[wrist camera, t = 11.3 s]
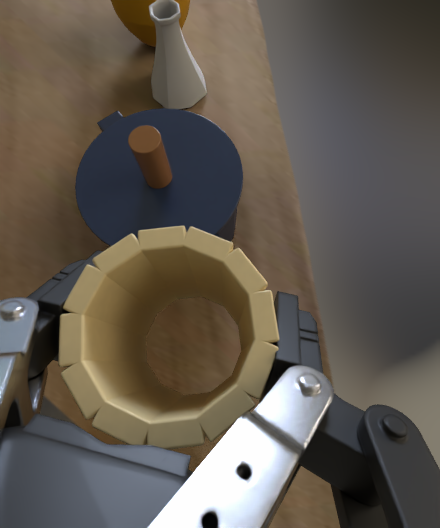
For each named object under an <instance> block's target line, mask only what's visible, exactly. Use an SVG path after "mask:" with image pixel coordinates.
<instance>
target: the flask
mask: <svg viewBox="0 0 440 528" xmlns="http://www.w3.org/2000/svg"><path fill="white" fill-rule="evenodd" d="M149 11H150V18H151V20H152V21H154V23H155V27H156V41H157V42H156V50H155V59H154V65H153V71H152V78H151V84H152V92H153V98H154V99H155V100H156V101H157V102H159V103H160V104H161V105H162V106H164V107H165V108H166V109H183V108H189V107H192V106H193V105H194V104H195V103H197V102H198V101H199V100H200V99H201V98H203V97H204V96H205V95H206V94H207V90H206V85H205V80H204V76H203V74H202V72H201V70H200V68H199V66H198V65H197V63H196V61H195V59H194V58H193V56H192V54H191V52H190V50H189V48H188V46H187V44H186V42H185V40H184V38H183V34H182V31H181V28H180V25H179V18H180V17H181V14H180V8H179V3H177V2H176V1H174V0H157V1H155V2H154V3H152V4H151V5H150V6H149Z"/></svg>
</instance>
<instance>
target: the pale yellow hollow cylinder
mask: <svg viewBox="0 0 440 528" xmlns="http://www.w3.org/2000/svg"><path fill="white" fill-rule="evenodd" d="M92 260H93V263H94V264H95V266H96V267H94V266H91V265H86V267H85V268H84V270H83V272H82V274H81V275H80V277H79V279H78V280H77V282H76V284H75V286H74V287H73V289H72V291H71V293H70V294H69V296H68V298H67V300H66V301H65V304H64V306H63V309H64V310H66V311H68V312H70V313H66V314H62V315H60V327H59V360H58V365H59V367H68V368H67V369H65V370H64V371H63V372H62V373H61V376H62V378H63V380H64V382H65V384H66V385H67V387H68V389H69V391H70V392H71V394H72V396H73V398H74V400H75V401H76V403H77V405H78V407H79V409H80V410H81V412H82V414H83V416H84V418H85V419H91V418H93V417H95V418H94V420H93V422H92V426H93V427H94V428H96V429H98V430H100V431H102V432H104V433H106V434H108V435H110V436H112V437H114V438H116V439H118V440H120V441H122V442H124V443H126V444H128V445H146V444H147V445H153V446H157V447H160V448H164V449H167V450H168V449H176V448H184V447H193V446H201V445H203V444H204V441H205V437H206V436H207V438H208V439H209V441H211V442H212V441H213V440H215V439H216V438H217V437H218V436H219V435H221V434H222V433H223V432H224V431H226V430H227V429H228V428H229V427H230V426H232V425H233V424H234V423H235V422H236V421H237V420H238V419H239V418H240V417H241V415H242V414H243V413H245V412H246V411H248V410H249V411H250V410H251V409H252V408H254V407H255V403H254V402H253V401H252V399H251V398H250V396H252V397H254V398H256V399H260V398H261V396H262V393H263V390H264V388H265V385H266V382H267V380H268V377H269V374H270V371H271V369H272V366H273V363H274V359H275V354H276V351H278V350H279V348H278V347H277V346H275V345H273V343H275V342H277V341H279V333H278V327H277V321H276V314H275V308H274V302H273V296H272V292H271V290H265V289H266V287H267V285H268V284H267V282H266V280H265V279H264V278H263V277H262V275H261V274H260V273H259V272H258V270H257V269H256V268H255V267H254V265H253V264H252V263H251V262H250V260H249V259H248V258H247V257H246V256H245V254H244V253H243V252H242V251H241V249H239V248H236V249H235V250H233V243H232V242H229V241H227V240H224V239H222V238H219V237H217V236H214V235H212V234H209V233H207V232H204V231H202V230H199V229H197V228H194V227H190V228H189V229H188V231H187V232H186V229H185V226H174V227H165V228H156V229H147V230H139V231H138V239H137V238H136V237H135V235H134V234H129V235H128V236H126V237H125V238H123V239H122V240H120V241H119V242H117V243H116V244H114V245H113V246H111V247H110V248H108V249H107V250H105V251H104V252H102V253H100V254H99V255H97V256H96V257H94V258H93V259H92ZM192 297H204V298H206V299H208V300H211V301H213V302H215V303H218V304H220V305H222V306H224V307H225V309H226V310H227V311H228V313H229V314H230V315H231V317H232V318H233V319H234V321H235V322H236V323H237V325H238V329H239V336H240V344H241V353H240V356H239V358H238V361H237V363H236V366H235V368H234V371H233V373H232V376H231V377H229V378H228V379H227V380H225V381H224V382H223V383H222V384H220V385H219V386H218V387H217V388H215V389H214V390H213V391H211V392H208V393H200V394H191V395H183V394H181V393H179V392H177V391H174V390H172V389H170V388H168V387H166V386H164V385H162V384H161V383H160V382H159V380H158V379H157V377H156V376H155V374H154V372H153V371H152V369H151V368H150V366H149V365H148V363H147V351H146V335H147V333H148V331H149V329H150V327H151V325H152V323H153V321H154V319H155V317H156V315H157V313H159V312H160V311H161V310H163V309H164V308H166V307H167V306H168V305H170V304H171V303H173V302H174V301H175V300H177V299H184V298H192ZM249 395H250V396H249Z"/></svg>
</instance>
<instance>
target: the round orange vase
mask: <svg viewBox="0 0 440 528" xmlns="http://www.w3.org/2000/svg"><path fill="white" fill-rule="evenodd" d="M155 1H157V0H111V2H112V5H113V7H114V10H115V12H116V13H117V15H118V17H119V18H120V20H121V21H122V22H123V24H124V25H125V26H126V27H127V28H128V30H129V31H130V32H131V33H133V34H134V35H135V36H136V37H137V38H138V39H139V40H141V41H142V42H144V43H145V44H147V45H149V46H153V47H156V42H157V41H156V27H155V23H154V21H152V20H151V18H150V11H149V6H150V5H151V4H152V3H154V2H155ZM174 1H176V2H177V3H179V8H180V14H181V17H180V18H179V25H180V28H181V30H182V27H183V25H184V22H185V20H186V17H187V14H188V10H189V4H190V0H174Z"/></svg>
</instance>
